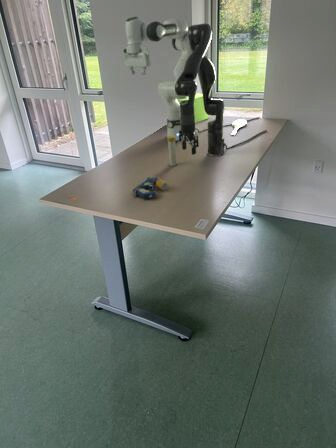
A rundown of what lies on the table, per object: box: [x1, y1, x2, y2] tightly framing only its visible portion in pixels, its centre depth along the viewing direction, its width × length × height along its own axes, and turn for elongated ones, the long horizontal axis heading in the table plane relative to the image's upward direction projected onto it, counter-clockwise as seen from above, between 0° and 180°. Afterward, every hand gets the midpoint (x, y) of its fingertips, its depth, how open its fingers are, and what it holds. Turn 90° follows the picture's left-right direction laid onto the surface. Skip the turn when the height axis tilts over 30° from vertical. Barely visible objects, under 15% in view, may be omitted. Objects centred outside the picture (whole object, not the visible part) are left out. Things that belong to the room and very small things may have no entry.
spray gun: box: [131, 175, 169, 200], centre depth 172 cm, size 21×4×15 cm
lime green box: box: [177, 93, 209, 124], centre depth 283 cm, size 25×21×23 cm
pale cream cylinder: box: [167, 141, 177, 167], centre depth 198 cm, size 4×4×17 cm
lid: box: [166, 136, 176, 143], centre depth 194 cm, size 5×5×2 cm
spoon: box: [231, 119, 248, 136], centre depth 255 cm, size 35×11×2 cm, turn 159°
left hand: (138, 74), depth 205 cm, fingers open, 8 cm apart
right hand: (189, 151), depth 179 cm, fingers open, 8 cm apart
